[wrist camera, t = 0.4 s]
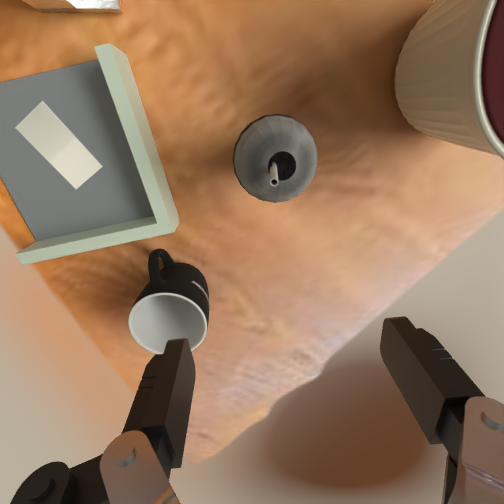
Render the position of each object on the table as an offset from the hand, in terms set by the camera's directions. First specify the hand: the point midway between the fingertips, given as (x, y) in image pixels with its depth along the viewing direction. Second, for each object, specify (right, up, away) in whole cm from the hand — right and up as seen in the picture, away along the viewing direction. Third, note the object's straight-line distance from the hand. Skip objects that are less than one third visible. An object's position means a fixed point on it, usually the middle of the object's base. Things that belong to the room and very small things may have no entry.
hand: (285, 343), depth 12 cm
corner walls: (-22, +14, +23) cm, 35 cm away
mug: (-12, +1, +30) cm, 32 cm away
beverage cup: (0, +16, +24) cm, 29 cm away
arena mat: (-22, +14, +23) cm, 35 cm away
